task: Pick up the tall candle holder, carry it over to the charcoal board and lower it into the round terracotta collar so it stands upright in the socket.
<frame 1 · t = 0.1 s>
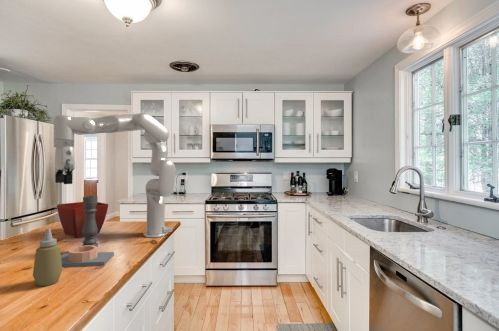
hand: (63, 183, 120), 31 cm above the counter, tool pointing down, fingers open, 9 cm apart
squeeze bottle: (47, 283, 92), on the counter
socket board: (83, 261, 113), on the counter
plant pot: (82, 234, 154), on the counter
candle holder: (89, 252, 124), on the counter
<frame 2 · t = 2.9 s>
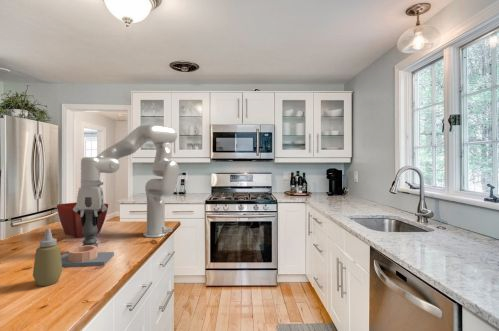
hand: (90, 224, 124), 12 cm above the counter, tool pointing down, fingers closed on candle holder, 4 cm apart
candle holder: (89, 252, 124), on the counter, touching gripper
everything else where it was.
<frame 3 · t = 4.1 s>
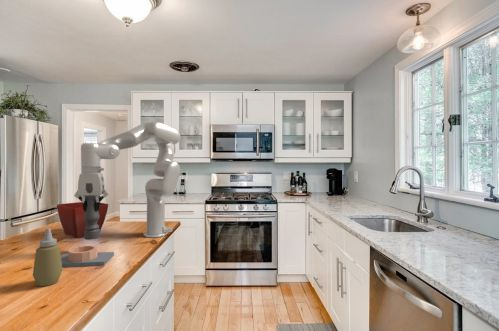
hand: (91, 210, 125), 19 cm above the counter, tool pointing down, fingers closed on candle holder, 4 cm apart
candle holder: (92, 238, 125), point 6 cm above the counter, touching gripper
everything else where it was.
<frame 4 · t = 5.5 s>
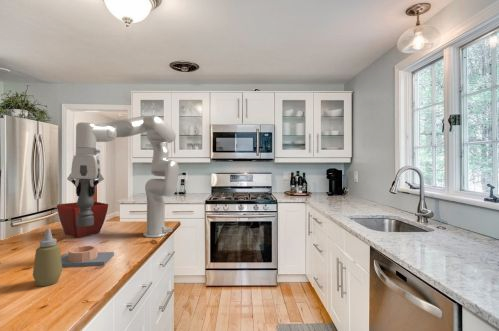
hand: (85, 195, 115), 27 cm above the counter, tool pointing down, fingers closed on candle holder, 4 cm apart
candle holder: (85, 225, 116), point 14 cm above the counter, touching gripper
everything else where it was.
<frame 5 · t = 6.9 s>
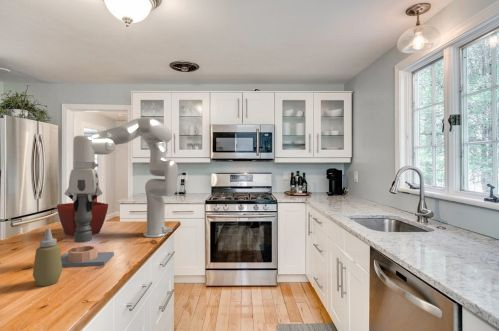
hand: (83, 210, 112), 21 cm above the counter, tool pointing down, fingers closed on candle holder, 4 cm apart
candle holder: (83, 241, 112), point 8 cm above the counter, touching gripper
everything else where it was.
when the fingers open (16 cm above the counter, at t = 8.1 s): candle holder drops 2 cm, resting on socket board.
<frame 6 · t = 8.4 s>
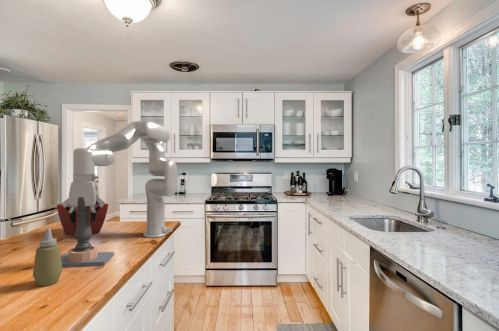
hand: (83, 221, 113), 16 cm above the counter, tool pointing down, fingers open, 6 cm apart
candle holder: (83, 257, 113), point 1 cm above the counter, touching socket board
everything else where it was.
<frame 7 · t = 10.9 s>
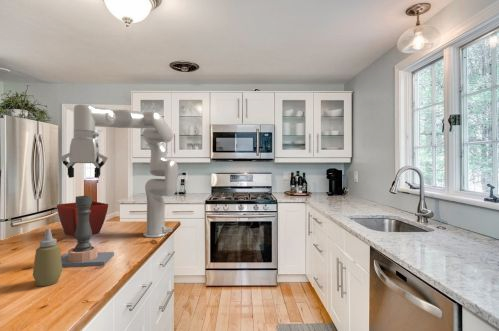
hand: (84, 177, 112), 34 cm above the counter, tool pointing down, fingers open, 9 cm apart
nothing on the counter moved.
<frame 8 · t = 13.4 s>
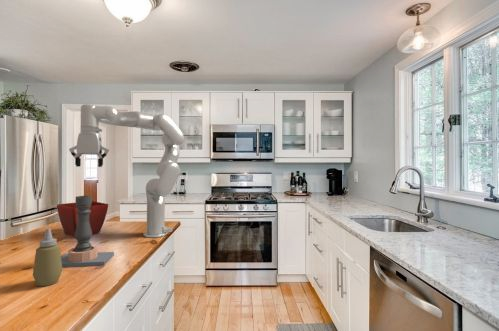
hand: (89, 166, 132), 38 cm above the counter, tool pointing down, fingers open, 9 cm apart
nothing on the counter moved.
at the end: candle holder 0.2 cm off-centre on the socket board, point 1.3 cm above the socket board's base; candle holder tilted 0°; the gripper is holding nothing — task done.
